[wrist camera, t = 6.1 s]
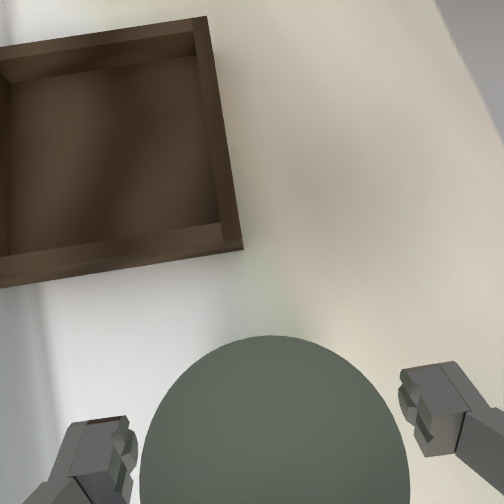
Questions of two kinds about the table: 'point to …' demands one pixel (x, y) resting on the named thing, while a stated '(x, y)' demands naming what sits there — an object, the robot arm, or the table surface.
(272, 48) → the table surface
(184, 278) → the table surface
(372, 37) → the table surface
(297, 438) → the sage ceramic canister
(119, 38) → the walnut tray
